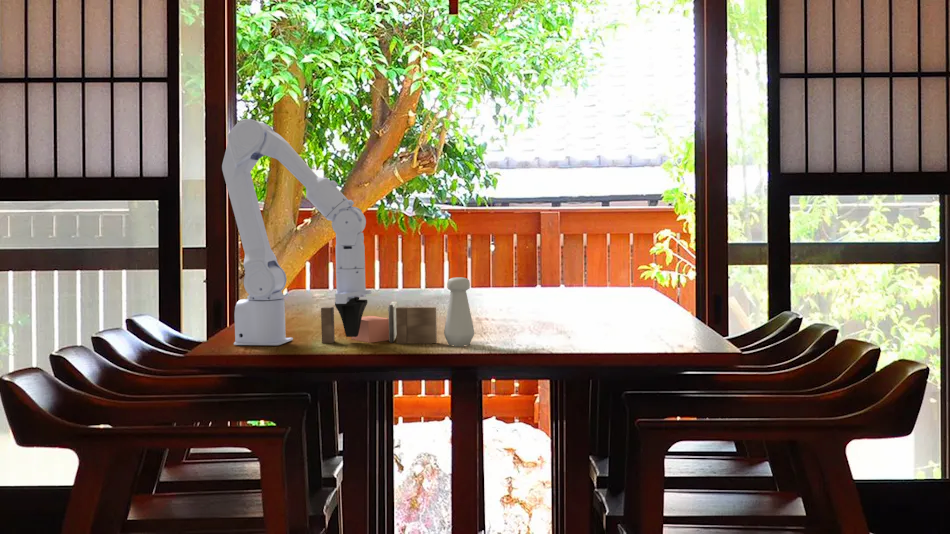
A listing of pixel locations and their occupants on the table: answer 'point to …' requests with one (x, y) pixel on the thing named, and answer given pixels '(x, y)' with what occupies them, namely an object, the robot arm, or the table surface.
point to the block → (373, 329)
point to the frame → (409, 325)
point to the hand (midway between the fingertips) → (352, 336)
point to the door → (394, 318)
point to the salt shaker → (458, 314)
